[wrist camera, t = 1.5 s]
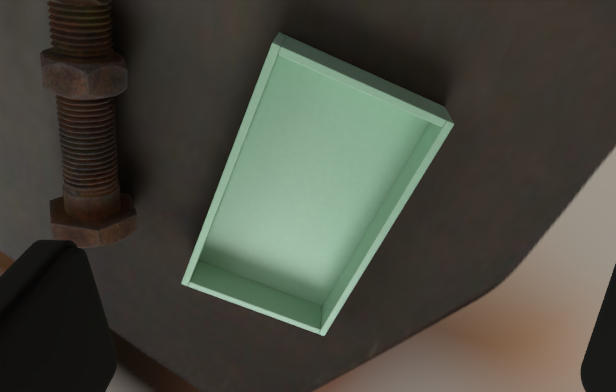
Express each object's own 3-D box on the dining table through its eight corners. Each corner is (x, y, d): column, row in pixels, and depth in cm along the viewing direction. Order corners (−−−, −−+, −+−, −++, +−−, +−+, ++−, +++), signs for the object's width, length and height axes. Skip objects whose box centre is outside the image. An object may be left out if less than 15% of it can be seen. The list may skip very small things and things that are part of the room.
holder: (192, 258, 37) (180, 284, 34) (278, 31, 28) (272, 42, 26) (325, 308, 38) (324, 336, 36) (445, 106, 30) (454, 124, 27)
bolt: (121, -15, 29) (127, 203, 36) (24, -25, 27) (50, 209, 34) (137, 0, 25) (141, 245, 32) (23, -10, 23) (54, 257, 29)
